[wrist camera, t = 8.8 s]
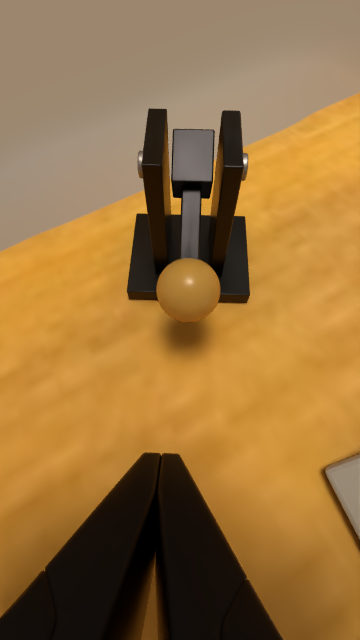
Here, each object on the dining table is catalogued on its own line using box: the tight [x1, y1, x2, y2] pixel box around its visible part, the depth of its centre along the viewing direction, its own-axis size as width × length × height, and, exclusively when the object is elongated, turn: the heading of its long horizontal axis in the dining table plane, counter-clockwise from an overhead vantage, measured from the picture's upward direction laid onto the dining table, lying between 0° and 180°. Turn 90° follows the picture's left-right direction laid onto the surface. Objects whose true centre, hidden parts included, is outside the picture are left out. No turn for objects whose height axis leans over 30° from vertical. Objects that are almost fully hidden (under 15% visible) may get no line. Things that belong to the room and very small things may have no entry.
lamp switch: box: [156, 129, 220, 322], centre depth 18 cm, size 10×4×4 cm, turn 177°
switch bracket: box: [127, 109, 250, 303], centre depth 22 cm, size 8×9×11 cm
